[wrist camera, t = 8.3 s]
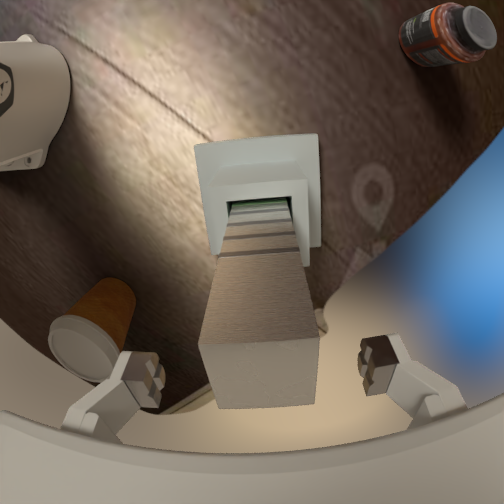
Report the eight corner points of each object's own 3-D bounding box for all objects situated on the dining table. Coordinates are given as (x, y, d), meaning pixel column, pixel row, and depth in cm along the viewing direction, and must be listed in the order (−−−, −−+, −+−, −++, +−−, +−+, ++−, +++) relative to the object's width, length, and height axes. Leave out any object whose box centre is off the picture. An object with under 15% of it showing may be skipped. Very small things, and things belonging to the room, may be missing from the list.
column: (239, 243, 26) (218, 409, 11) (234, 197, 24) (197, 344, 10) (287, 239, 25) (314, 404, 11) (284, 193, 23) (320, 336, 9)
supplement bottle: (444, 69, 23) (510, 67, 13) (401, 66, 24) (463, 56, 14) (435, 22, 21) (495, 5, 11) (391, 17, 21) (445, -12, 11)
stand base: (213, 248, 34) (197, 301, 25) (196, 144, 29) (169, 161, 20) (318, 240, 34) (338, 291, 25) (315, 133, 28) (340, 146, 19)
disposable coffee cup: (148, 328, 41) (122, 393, 30) (91, 314, 40) (56, 371, 29) (146, 273, 36) (110, 338, 26) (83, 260, 36) (35, 315, 25)
